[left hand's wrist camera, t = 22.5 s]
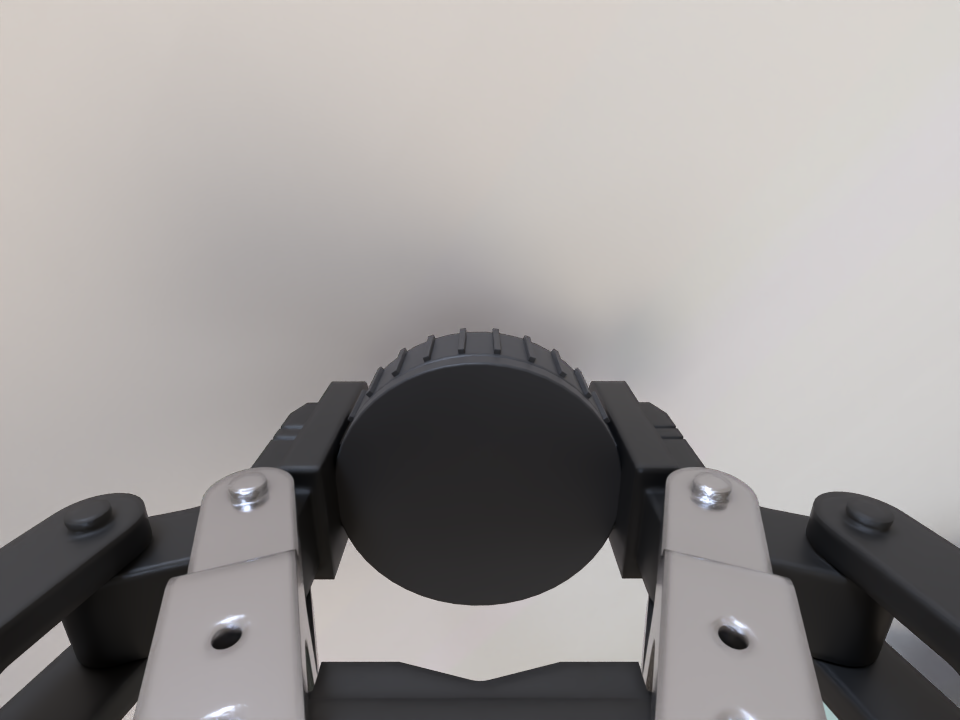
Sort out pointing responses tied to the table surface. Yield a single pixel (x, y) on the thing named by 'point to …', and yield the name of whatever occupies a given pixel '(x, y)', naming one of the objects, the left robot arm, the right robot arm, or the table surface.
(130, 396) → the table surface
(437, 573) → the lid
